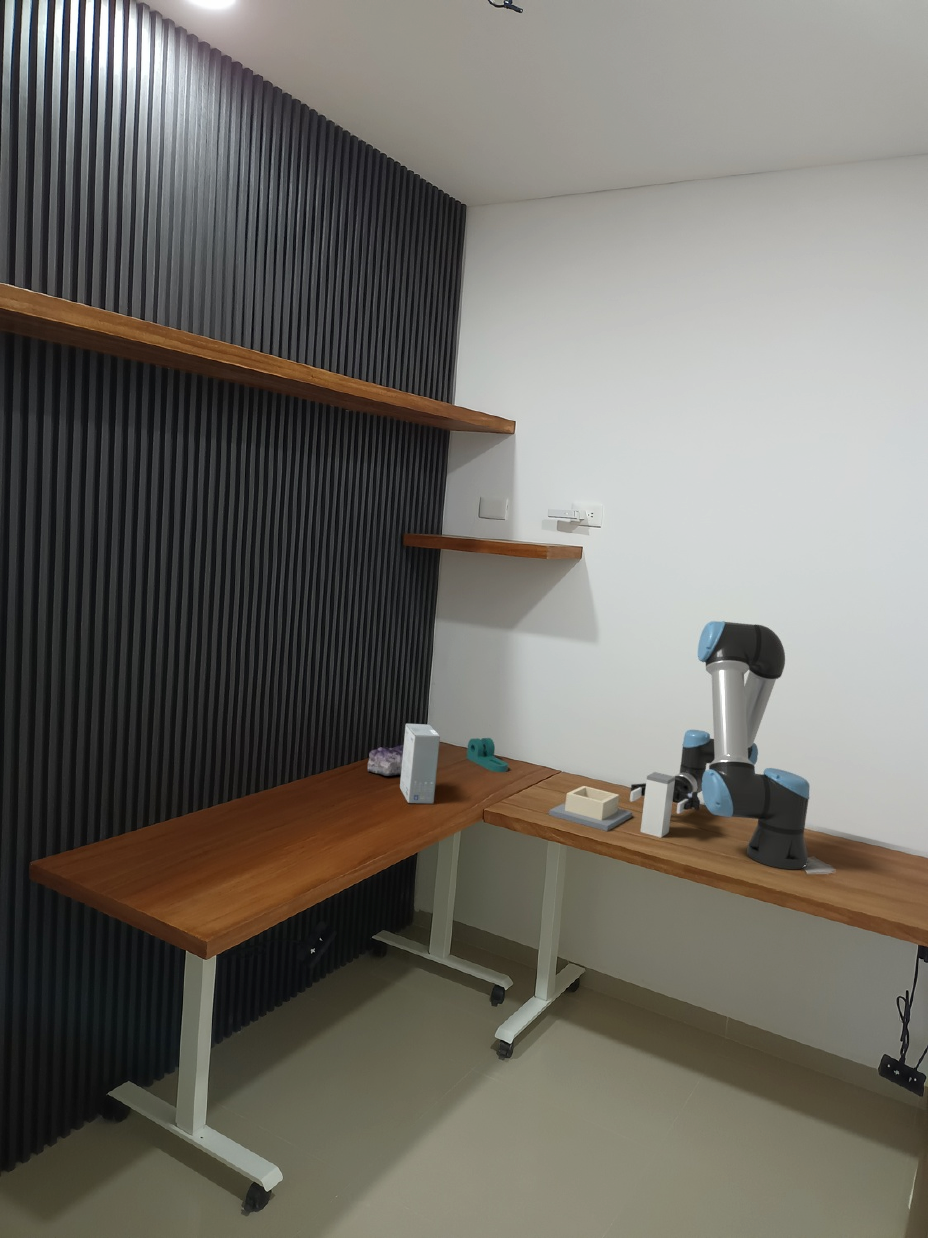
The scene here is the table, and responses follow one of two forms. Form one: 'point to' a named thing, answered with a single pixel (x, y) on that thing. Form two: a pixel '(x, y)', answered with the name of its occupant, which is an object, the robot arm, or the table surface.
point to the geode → (386, 761)
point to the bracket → (485, 755)
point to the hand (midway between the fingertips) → (654, 802)
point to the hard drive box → (419, 763)
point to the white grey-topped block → (657, 804)
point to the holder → (592, 808)
